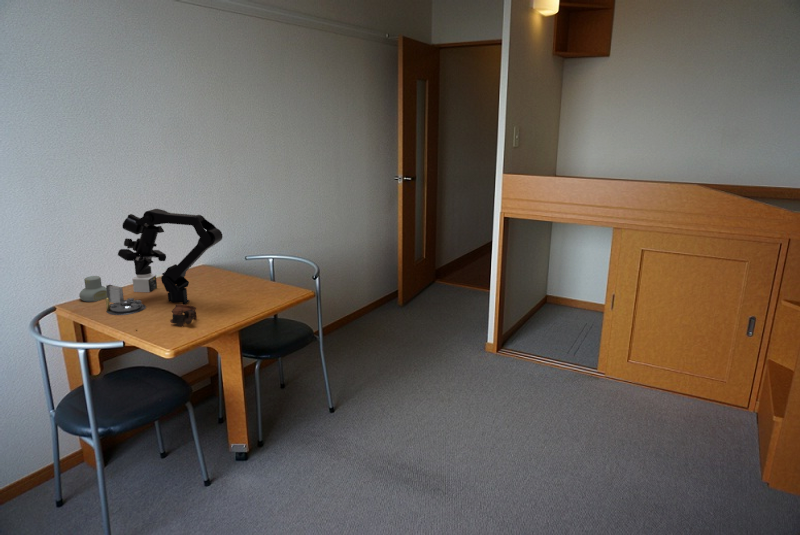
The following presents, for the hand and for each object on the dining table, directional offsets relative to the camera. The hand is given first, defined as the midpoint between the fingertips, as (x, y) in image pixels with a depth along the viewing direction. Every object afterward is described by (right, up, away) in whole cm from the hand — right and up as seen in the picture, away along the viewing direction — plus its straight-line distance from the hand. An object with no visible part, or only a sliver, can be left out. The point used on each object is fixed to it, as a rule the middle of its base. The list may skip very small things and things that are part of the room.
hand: (137, 274), depth 226 cm
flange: (0, -15, -8) cm, 17 cm away
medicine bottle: (-4, -8, +16) cm, 19 cm away
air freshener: (-19, -11, +4) cm, 23 cm away
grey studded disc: (-2, -13, -7) cm, 15 cm away
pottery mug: (+27, -18, -18) cm, 37 cm away
